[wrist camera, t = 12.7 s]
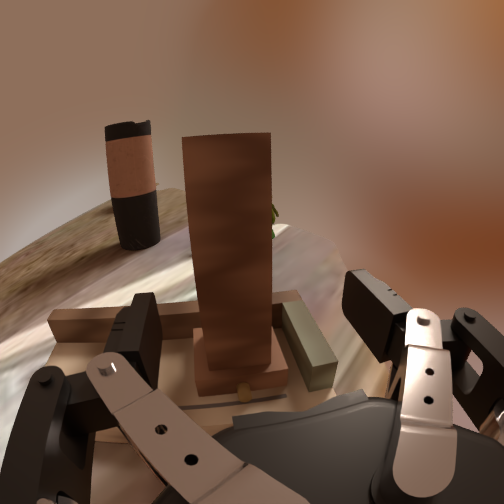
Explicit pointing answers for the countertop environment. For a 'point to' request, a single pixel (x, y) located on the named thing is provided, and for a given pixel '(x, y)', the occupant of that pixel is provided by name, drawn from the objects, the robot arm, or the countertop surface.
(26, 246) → the countertop surface
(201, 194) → the panel
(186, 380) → the board
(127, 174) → the travel mug
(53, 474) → the robot arm
